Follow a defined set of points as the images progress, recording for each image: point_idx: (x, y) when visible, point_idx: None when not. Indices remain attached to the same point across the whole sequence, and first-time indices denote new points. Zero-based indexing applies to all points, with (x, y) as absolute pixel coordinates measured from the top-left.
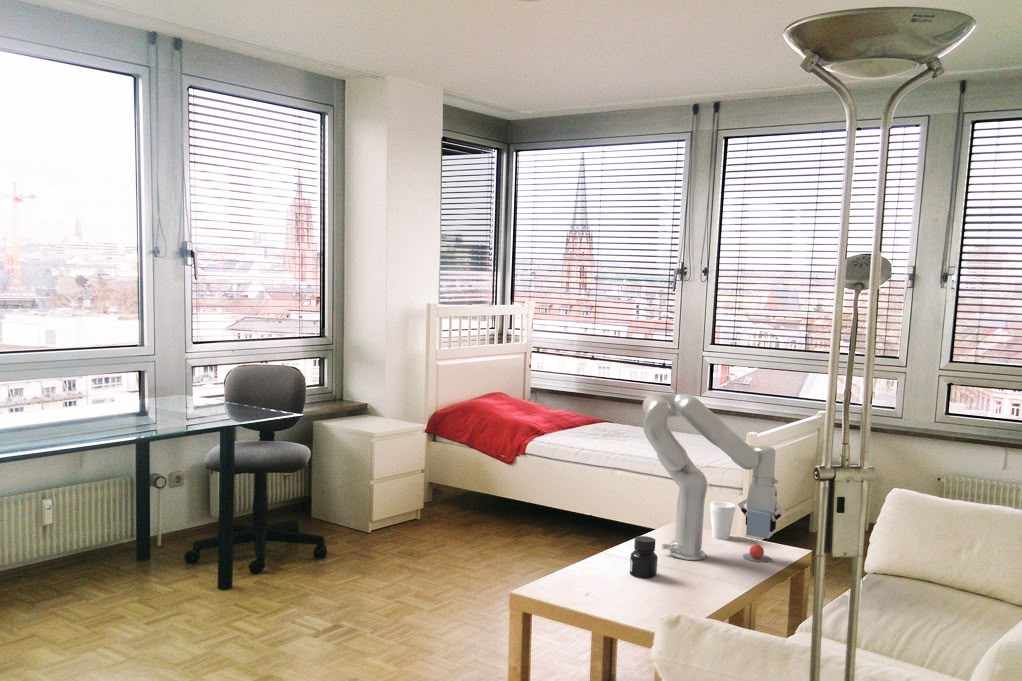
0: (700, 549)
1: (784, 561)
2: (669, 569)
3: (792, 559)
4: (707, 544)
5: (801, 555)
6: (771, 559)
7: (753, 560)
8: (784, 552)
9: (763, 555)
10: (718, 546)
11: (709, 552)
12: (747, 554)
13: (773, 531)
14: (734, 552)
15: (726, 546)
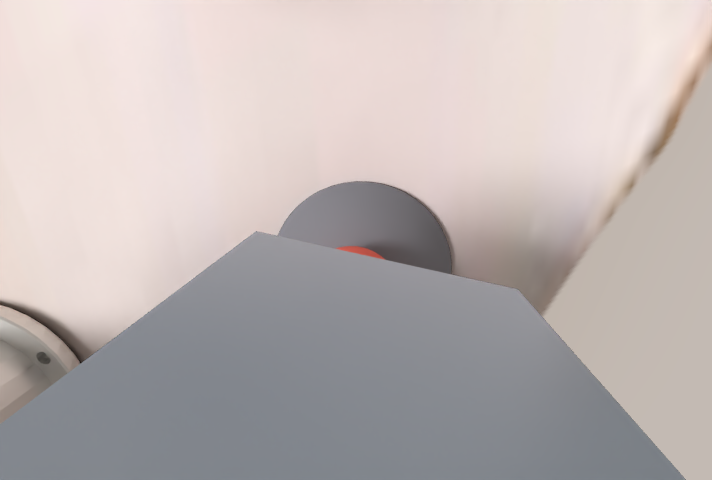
0: None
1: (532, 257)
2: None
3: (598, 185)
4: (9, 109)
5: (700, 32)
6: (449, 269)
7: None
8: (565, 15)
9: (398, 204)
10: (86, 120)
11: (83, 285)
12: (295, 233)
13: (528, 307)
14: (212, 212)
15: (132, 89)
